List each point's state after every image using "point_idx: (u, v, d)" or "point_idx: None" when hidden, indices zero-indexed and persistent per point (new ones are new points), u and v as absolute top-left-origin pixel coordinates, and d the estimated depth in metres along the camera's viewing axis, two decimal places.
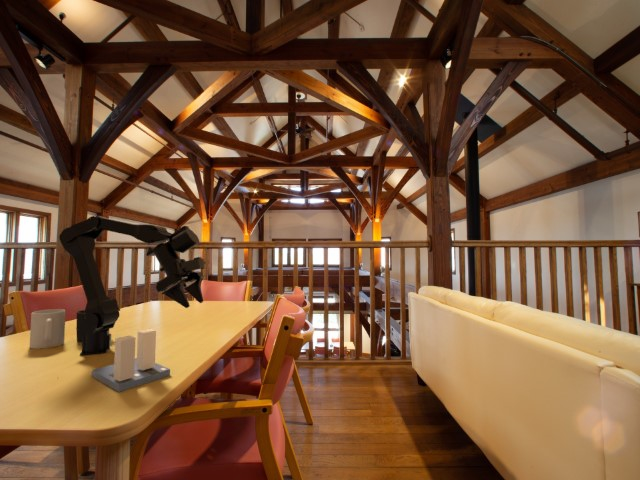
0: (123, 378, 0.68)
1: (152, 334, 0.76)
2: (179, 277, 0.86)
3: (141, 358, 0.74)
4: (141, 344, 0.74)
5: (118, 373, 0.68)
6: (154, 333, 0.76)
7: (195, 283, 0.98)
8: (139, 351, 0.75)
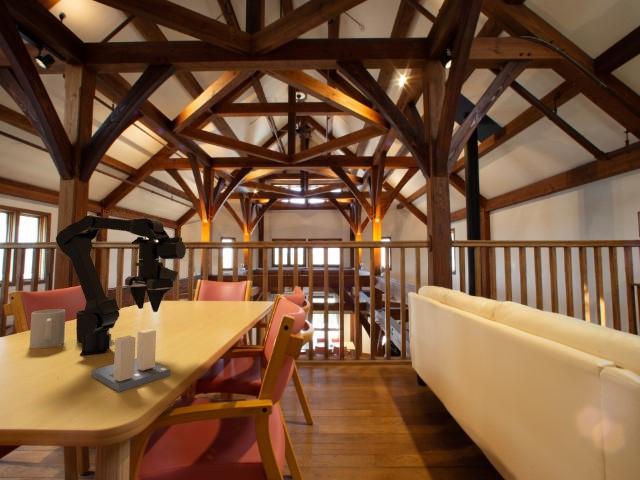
0: (123, 378, 0.68)
1: (152, 334, 0.76)
2: None
3: (141, 358, 0.74)
4: (141, 344, 0.74)
5: (118, 373, 0.68)
6: (154, 333, 0.76)
7: (144, 288, 0.97)
8: (139, 351, 0.75)
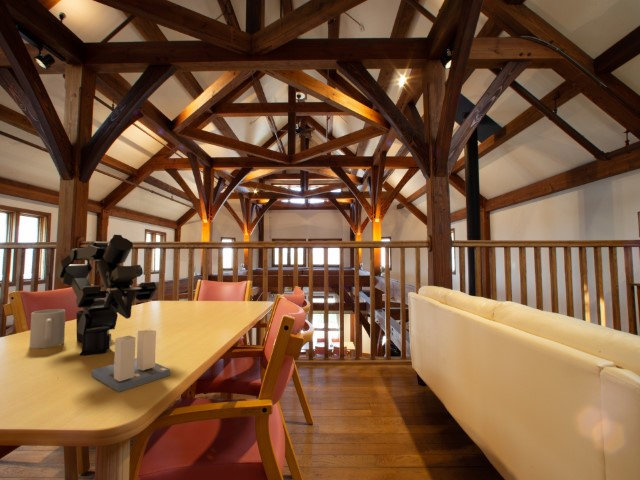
0: (123, 378, 0.68)
1: (152, 334, 0.76)
2: (96, 288, 0.79)
3: (141, 358, 0.74)
4: (141, 344, 0.74)
5: (118, 373, 0.68)
6: (154, 333, 0.76)
7: (125, 296, 0.85)
8: (139, 351, 0.75)
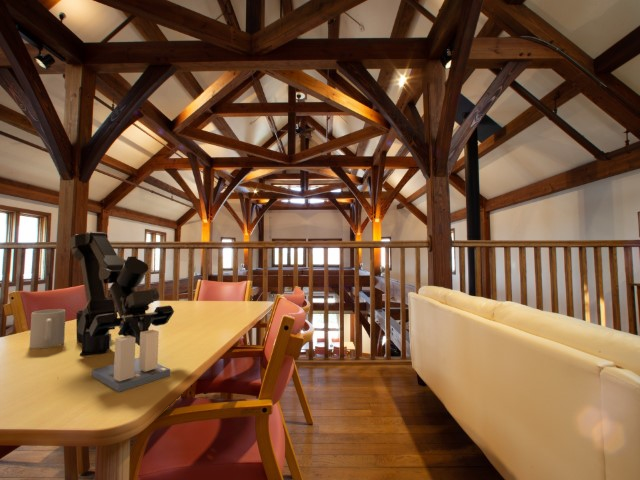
0: (123, 378, 0.68)
1: (155, 335, 0.75)
2: (110, 316, 0.74)
3: (143, 359, 0.74)
4: (144, 345, 0.74)
5: (118, 373, 0.68)
6: (157, 334, 0.76)
7: (141, 323, 0.79)
8: (141, 352, 0.74)
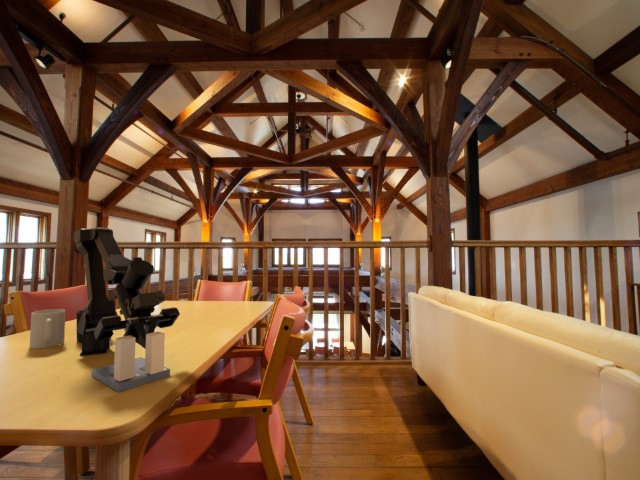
0: (123, 378, 0.68)
1: (161, 337, 0.74)
2: (116, 319, 0.72)
3: (149, 362, 0.72)
4: (150, 347, 0.72)
5: (118, 373, 0.68)
6: (163, 336, 0.74)
7: (147, 325, 0.78)
8: (147, 354, 0.73)
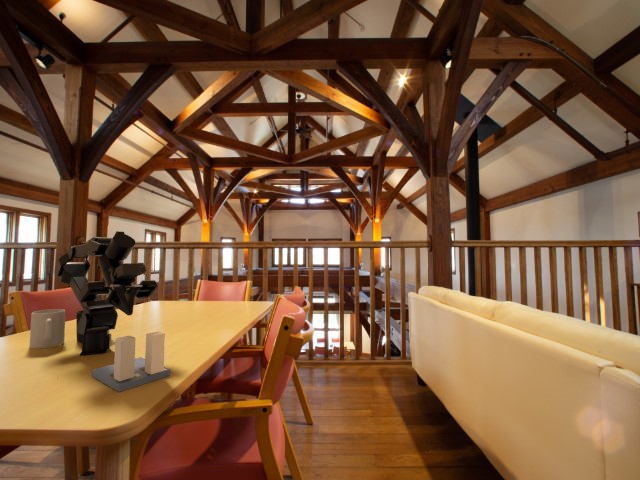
0: (123, 378, 0.68)
1: (161, 337, 0.74)
2: (100, 284, 0.80)
3: (149, 362, 0.72)
4: (150, 347, 0.72)
5: (118, 373, 0.68)
6: (163, 336, 0.74)
7: (127, 293, 0.86)
8: (147, 354, 0.73)
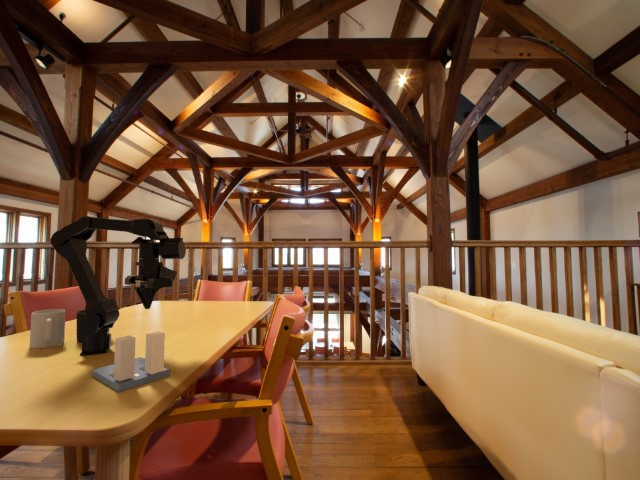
0: (123, 378, 0.68)
1: (161, 337, 0.74)
2: None
3: (149, 362, 0.72)
4: (150, 347, 0.72)
5: (118, 373, 0.68)
6: (163, 336, 0.74)
7: None
8: (147, 354, 0.73)
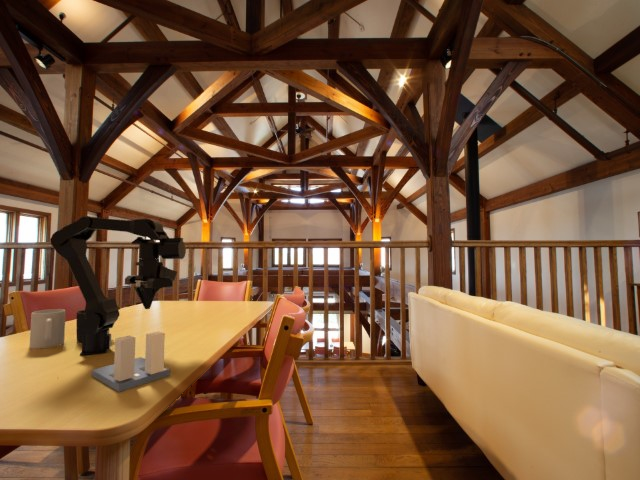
0: (123, 378, 0.68)
1: (161, 337, 0.74)
2: None
3: (149, 362, 0.72)
4: (150, 347, 0.72)
5: (118, 373, 0.68)
6: (163, 336, 0.74)
7: None
8: (147, 354, 0.73)
